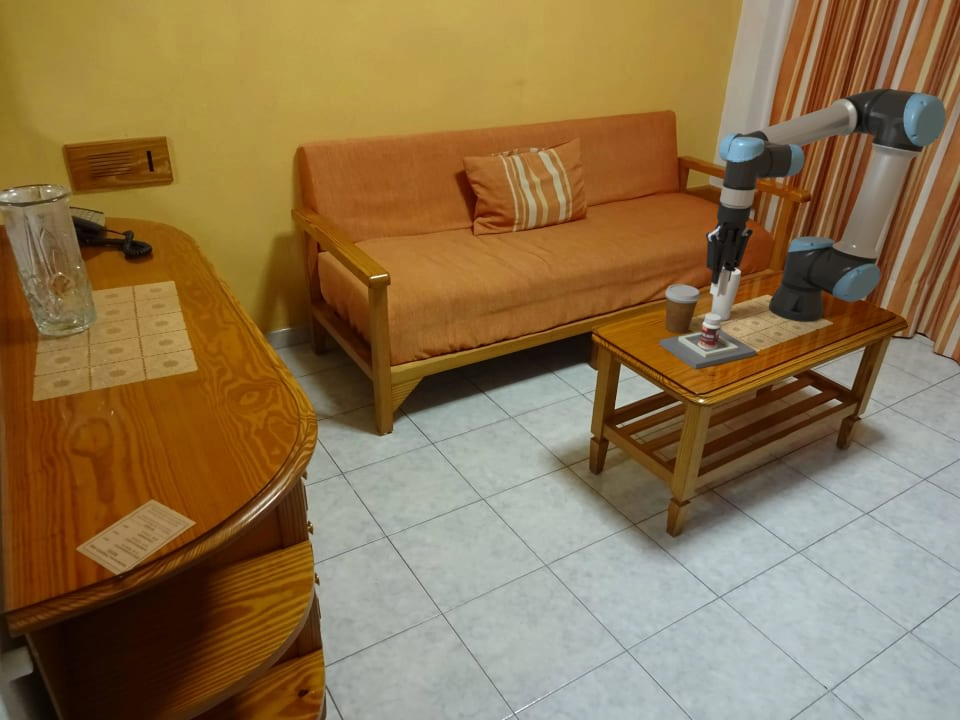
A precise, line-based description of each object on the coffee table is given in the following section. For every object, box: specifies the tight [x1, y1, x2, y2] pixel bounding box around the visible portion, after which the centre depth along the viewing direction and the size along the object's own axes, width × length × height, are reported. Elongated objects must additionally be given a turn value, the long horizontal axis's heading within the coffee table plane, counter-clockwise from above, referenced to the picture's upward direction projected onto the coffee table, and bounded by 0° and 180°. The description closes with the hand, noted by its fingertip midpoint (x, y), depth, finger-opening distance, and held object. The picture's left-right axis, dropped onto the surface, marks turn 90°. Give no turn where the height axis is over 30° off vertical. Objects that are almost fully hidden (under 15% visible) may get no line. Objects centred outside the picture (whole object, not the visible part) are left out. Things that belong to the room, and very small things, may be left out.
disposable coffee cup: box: [664, 284, 701, 334], centre depth 193 cm, size 10×10×12 cm
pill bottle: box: [699, 313, 722, 348], centre depth 181 cm, size 5×5×8 cm
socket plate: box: [659, 329, 757, 370], centre depth 183 cm, size 20×15×2 cm
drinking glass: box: [710, 266, 742, 322], centre depth 199 cm, size 7×7×15 cm
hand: (717, 293), depth 176 cm, fingers closed
